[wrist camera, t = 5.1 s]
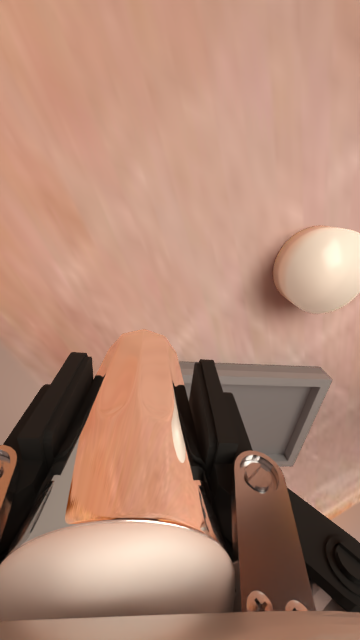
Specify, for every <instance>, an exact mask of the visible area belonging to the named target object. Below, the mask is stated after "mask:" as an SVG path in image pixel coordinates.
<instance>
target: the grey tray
mask: <svg viewBox="0 0 360 640" xmlns="http://www.w3.org/2000/svg"><path fill="white" fill-rule="evenodd" d="M195 363H199V362H179V365H180V369H181V373H182V377H183V381H184V385H185V389H186V393H187V397H188V401H189V397H190V390H191V383H192V377H193V370H194V364H195ZM215 367H216V370H217V373H218V377H219V380H220V383H221V386H222V390H223V392H231V393H232V394H233V396H234V398H235V401H236V404H237V407H238V410H239V412H240V415H241V418H242V421H243V424H244V427H245V430H246V432H247V435H248V438H249V441H250V444H251V447H252V449H253V451H258V452H261V453H264V454H265V455H267V456H269V457H270V458H271V459H272V460H274V461H275V462H276V463H277V465H278V466H279V467H281V466H293V465H294V463H295V461H296V459H297V456H298V454H299V452H300V450H301V448H302V446H303V443H304V441H305V439H306V437H307V435H308V432H309V430H310V428H311V426H312V424H313V422H314V419H315V417H316V415H317V413H318V411H319V408H320V406H321V404H322V402H323V400H324V398H325V395H326V393H327V391H328V389H329V387H330V384H331V382H332V379H331V378H330V377H329V376H328V375H327V374H326V373H325V371H324V370H323V369H322V368H321V367H305V366H279V365H253V364H227V363H215Z"/></svg>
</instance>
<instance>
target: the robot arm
mask: <svg viewBox="0 0 360 640" xmlns="http://www.w3.org/2000/svg"><path fill="white" fill-rule="evenodd" d="M92 382H93V368H92V358H91V357H88V356H87V353H77V352H72V353H70V355H69V356H68V358H67V360H66V361H65V363H64V364H63V366H62V367H61V369H60V371H59V372H58V374H57V375H56V377H55V379H54V380H53V382H52V383H51V385H49V384H45V385H44V386H43V387H42V388H41V389H40V390H39V392H38V394H37V395H36V396H35V398H34V399H33V401H32V403H31V404H30V406H29V407H28V408H27V410H26V411H25V413H24V414H23V416H22V417H21V419H20V420H19V422H18V423H17V425H16V426H15V428H14V429H13V431H12V432H11V434H10V435H9V437H8V438H7V439H6V441H5V442H4V444H3V445H0V561H1V559H2V557H3V555H4V553H5V551H6V550H7V548H8V546H9V544H10V542H11V540H12V538H13V536H14V534H15V532H16V531H17V529H18V527H19V525H20V523H21V521H22V519H23V517H24V515H25V514H26V512H27V510H28V508H29V506H30V504H31V502H32V500H33V498H34V496H35V495H36V493H37V491H38V489H39V487H40V485H41V483H42V481H43V479H44V478H45V476H46V474H47V472H48V470H49V468H50V466H51V464H52V462H53V460H54V459H55V457H56V455H57V453H58V451H59V449H60V447H61V445H62V443H63V441H64V439H65V437H66V435H67V433H68V431H69V429H70V427H71V425H72V423H73V421H74V419H75V417H76V415H77V413H78V411H79V409H80V406H81V404H82V402H83V400H84V398H85V396H86V394H87V392H88V390H89V388H90V386H91V384H92ZM189 405H190V409H191V413H192V417H193V421H194V425H195V429H196V433H197V437H198V441H199V445H200V449H201V453H202V456H203V460H204V463H205V467H206V471H207V474H208V478H209V481H210V485H211V488H212V492H213V495H214V499H215V502H216V506H217V509H218V513H219V516H220V520H221V524H222V527H223V531H224V534H225V538H226V541H227V545H228V548H229V552H230V556H231V560H232V563H233V566H234V569H235V592H236V596H235V598H234V605H233V612H232V613H205V614H174V615H147V616H121V617H94V618H69V619H43V620H20V621H0V640H360V543H359V542H358V541H357V540H356V539H355V538H353V537H352V536H350V535H349V534H348V533H347V532H345V531H344V530H343V529H341V528H340V527H339V526H337V525H336V524H335V523H333V522H332V521H331V520H329V519H328V518H327V517H325V516H324V515H323V514H321V513H320V512H319V511H317V510H316V509H315V508H313V507H312V506H311V505H309V504H308V503H307V502H305V501H304V500H303V499H301V498H300V497H299V496H297V495H296V494H295V493H293V492H292V491H291V490H289V489H288V488H287V486H286V482H285V478H284V475H283V473H282V470H281V469H280V467H279V466H278V465H277V463H276V462H275V461H274V460H272V459H271V458H270V457H269V456H267V455H265V454H264V453H261V452H258V451H253V449H252V447H251V444H250V441H249V438H248V435H247V432H246V430H245V427H244V424H243V421H242V418H241V415H240V412H239V410H238V407H237V404H236V401H235V398H234V396H233V394H232V393H231V392H223V390H222V386H221V383H220V380H219V377H218V373H217V370H216V367H215V363H214V361H213V360H202V359H200V361H199V363H195V364H194V370H193V377H192V383H191V390H190V397H189Z"/></svg>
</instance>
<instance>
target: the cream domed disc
mask: <svg viewBox="0 0 360 640" xmlns="http://www.w3.org/2000/svg"><path fill="white" fill-rule="evenodd" d="M273 279H274V283H275V286H276V288H277V290H278V291H279V293H280V294H281V295H282V296H284V297H285V298H286V299H287V300H289V301H290V302H291V303H293V304H294V305H295V306H297V307H298V308H300V309H301V310H303V311H305V312H308V313H312V314H324V313H329V312H332V311H335V310H337V309H340V308H342V307H343V306H345V305H346V304H348V303H349V302H351V301H352V300H353V299H354V298H355V297H356V296H357V295H358V294H359V293H360V233H358V232H356V231H353V230H349V229H342V228H335V227H329V226H313V227H309V228H306V229H303V230H301V231H299V232H298V233H296V234H295V235H293V236H292V237H291V238H290V239H289V240H288V241H287V242H286V243H285V244H284V245H283V247H282V248H281V249H280V251H279V253H278V255H277V257H276V260H275V263H274V267H273Z"/></svg>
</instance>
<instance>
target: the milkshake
mask: <svg viewBox="0 0 360 640" xmlns="http://www.w3.org/2000/svg"><path fill="white" fill-rule="evenodd" d="M235 596H236V592H235V569H234V566H233V563H232V560H231V556H230V552H229V548H228V545H227V541H226V538H225V534H224V531H223V527H222V524H221V520H220V516H219V513H218V509H217V506H216V502H215V499H214V495H213V492H212V488H211V485H210V481H209V478H208V474H207V471H206V467H205V463H204V460H203V456H202V453H201V449H200V445H199V441H198V437H197V433H196V429H195V425H194V421H193V417H192V413H191V409H190V405H189V401H188V397H187V393H186V389H185V385H184V381H183V377H182V373H181V369H180V365H179V361H178V357H177V353H176V351H175V350H174V348H173V347H172V346H171V344H170V343H169V341H168V340H167V338H166V337H165V336H163V335H160V334H157V333H155V332H152V331H149V330H146V329H141V330H137V331H132V332H128V333H123V334H122V335H121V336H120V337H119V338H118V339H117V340H116V342H115V343H114V344H113V345H112V346H111V347H110V348H109V350H108V351H107V353H106V355H105V357H104V360H103V362H102V364H101V366H100V368H99V370H98V372H97V374H96V376H95V378H94V380H93V382H92V384H91V386H90V388H89V390H88V392H87V394H86V396H85V398H84V400H83V402H82V404H81V406H80V409H79V411H78V413H77V415H76V417H75V419H74V421H73V423H72V425H71V427H70V429H69V431H68V433H67V435H66V437H65V439H64V441H63V443H62V445H61V447H60V449H59V451H58V453H57V455H56V457H55V459H54V460H53V462H52V464H51V466H50V468H49V470H48V472H47V474H46V476H45V478H44V479H43V481H42V483H41V485H40V487H39V489H38V491H37V493H36V495H35V496H34V498H33V500H32V502H31V504H30V506H29V508H28V510H27V512H26V514H25V515H24V517H23V519H22V521H21V523H20V525H19V527H18V529H17V531H16V532H15V534H14V536H13V538H12V540H11V542H10V544H9V546H8V548H7V550H6V551H5V553H4V555H3V557H2V559H1V561H0V621H20V620H43V619H69V618H94V617H121V616H147V615H174V614H205V613H232V612H233V605H234V598H235Z"/></svg>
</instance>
